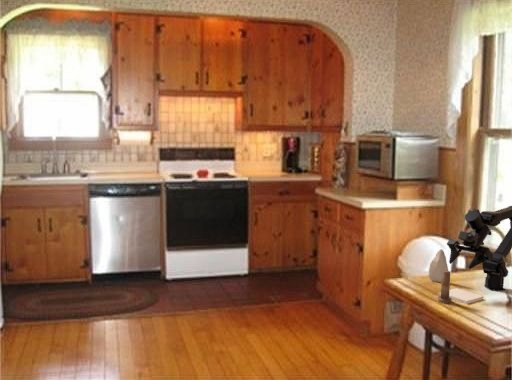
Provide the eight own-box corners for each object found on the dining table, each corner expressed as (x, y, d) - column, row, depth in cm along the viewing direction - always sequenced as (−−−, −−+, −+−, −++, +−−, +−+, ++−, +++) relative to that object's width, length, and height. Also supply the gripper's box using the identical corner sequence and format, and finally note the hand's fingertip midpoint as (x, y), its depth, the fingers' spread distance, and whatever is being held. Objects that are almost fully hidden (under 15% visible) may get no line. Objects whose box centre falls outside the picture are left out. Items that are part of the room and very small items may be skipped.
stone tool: (447, 281, 246) (449, 249, 244) (447, 283, 243) (449, 250, 241) (428, 279, 249) (429, 247, 247) (427, 281, 246) (429, 248, 244)
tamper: (443, 298, 221) (445, 269, 220) (453, 302, 217) (455, 272, 216) (435, 300, 219) (437, 270, 217) (445, 304, 214) (447, 273, 213)
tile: (456, 290, 232) (456, 288, 232) (483, 299, 221) (483, 296, 221) (439, 295, 226) (439, 292, 226) (466, 304, 215) (466, 301, 215)
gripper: (450, 220, 229) (432, 249, 225) (490, 228, 214) (471, 258, 209) (461, 237, 234) (443, 265, 230) (501, 245, 219) (482, 275, 214)
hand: (459, 265), depth 221 cm, fingers open, 9 cm apart
